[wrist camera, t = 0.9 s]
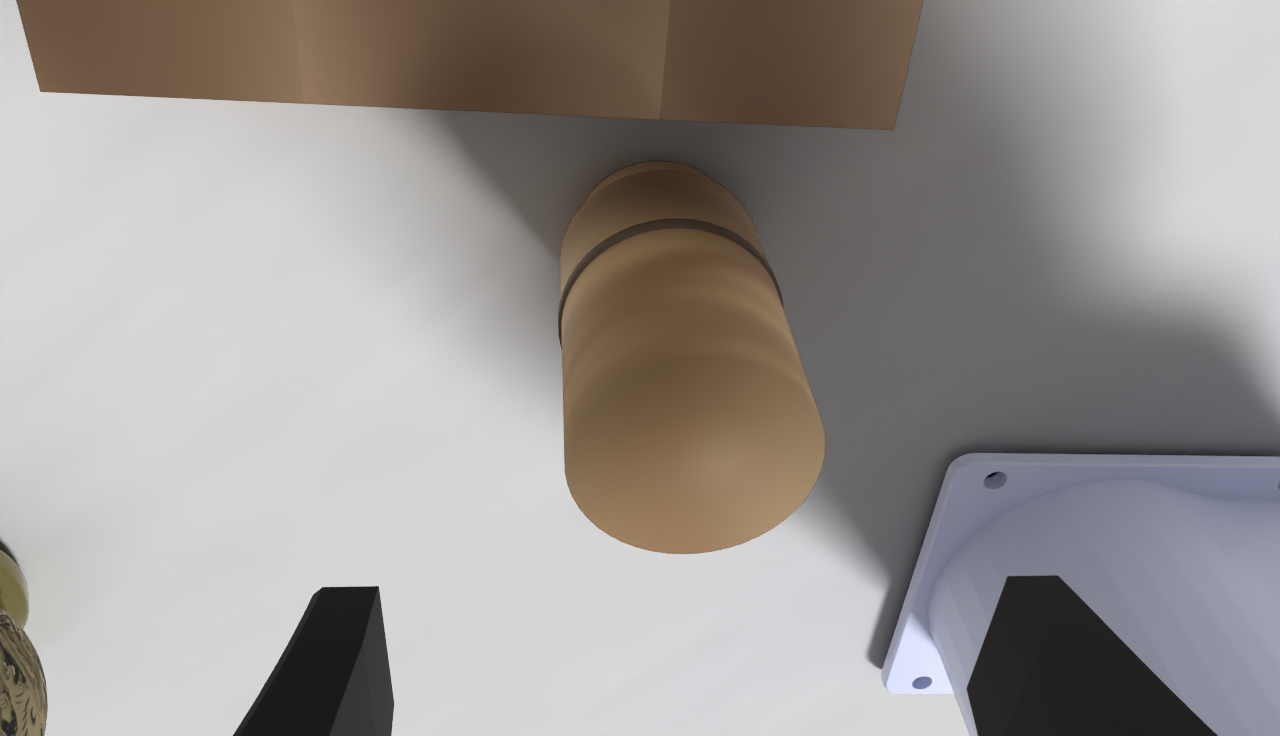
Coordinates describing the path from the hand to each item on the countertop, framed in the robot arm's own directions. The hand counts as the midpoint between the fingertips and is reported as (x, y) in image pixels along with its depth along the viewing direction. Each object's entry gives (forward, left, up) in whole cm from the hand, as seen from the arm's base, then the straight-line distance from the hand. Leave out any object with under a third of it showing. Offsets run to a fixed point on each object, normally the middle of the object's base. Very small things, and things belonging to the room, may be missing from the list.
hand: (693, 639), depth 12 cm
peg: (0, 0, -9) cm, 9 cm away
